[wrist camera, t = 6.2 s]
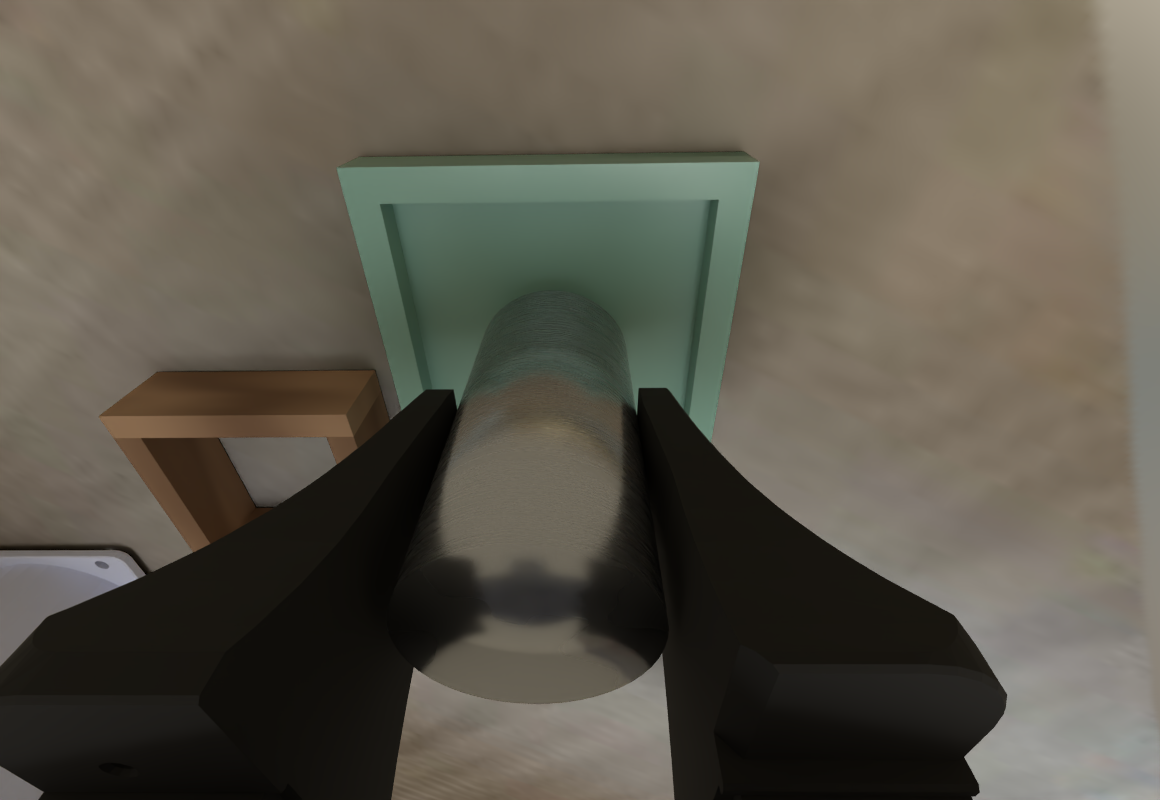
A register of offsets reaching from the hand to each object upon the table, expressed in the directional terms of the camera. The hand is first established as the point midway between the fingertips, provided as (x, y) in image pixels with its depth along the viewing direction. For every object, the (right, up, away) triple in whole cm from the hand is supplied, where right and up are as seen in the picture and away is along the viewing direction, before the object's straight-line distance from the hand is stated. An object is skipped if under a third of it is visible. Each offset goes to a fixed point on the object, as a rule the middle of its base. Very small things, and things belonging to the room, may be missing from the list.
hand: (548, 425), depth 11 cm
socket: (-9, -1, +7) cm, 12 cm away
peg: (0, +2, +2) cm, 3 cm away
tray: (0, +3, +4) cm, 5 cm away
